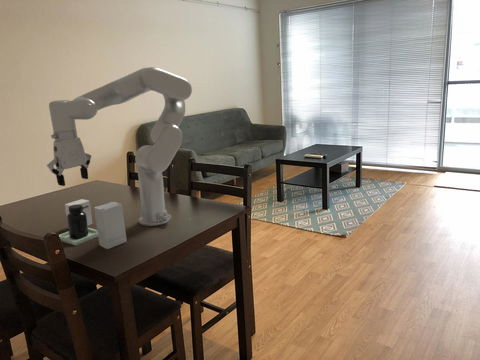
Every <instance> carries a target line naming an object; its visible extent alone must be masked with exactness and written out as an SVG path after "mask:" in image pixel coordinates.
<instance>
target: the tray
mask: <svg viewBox="0 0 480 360" xmlns="http://www.w3.org/2000/svg"><path fill="white" fill-rule="evenodd" d="M58 235H59V237H60V239H61V241H60V242H63V243H65V244H69V245H72V246H75V247H76V246H79V245H81V244H84V243H87V242H89V241H92V240H94V239H97V238H98V232H97V229H95V228H91V227H88V236H87V237H84V238H82V239H71V238H70V237H69V230H68V231H66V232H63V233H61V234H58Z"/></svg>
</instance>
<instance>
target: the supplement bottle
mask: <svg viewBox="0 0 480 360" xmlns="http://www.w3.org/2000/svg"><path fill="white" fill-rule="evenodd" d="M69 212H70V213H69V214H68V215H67V217H66V222H68V224H67V229H68V231H69V237H70V238H71V239H82V238H84V237H87V236H88V228H89V225H87V216H86V213H85V212H83V207H82V205H80V204H76V205H71V206H69Z"/></svg>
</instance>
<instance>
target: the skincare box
mask: <svg viewBox="0 0 480 360" xmlns="http://www.w3.org/2000/svg"><path fill="white" fill-rule="evenodd" d="M123 208H124V207H123V204H122V203H119V202H116V201H110V202H107V203H104V204H102V205H98V206H95V207H93V209H94V216H95V223H96V224H95V225H96V230H97V232H98V237H97V238H98V243H99V244H98V245H99V246H100V247H102V248H104V249H106V250H110V249H112V248H115V247H117V246H119V245H122V244H125V243H127V242H128V241H127V232H126V225H125V224H126V223H125V217H124V215H125V214H124V209H123Z"/></svg>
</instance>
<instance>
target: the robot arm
mask: <svg viewBox="0 0 480 360" xmlns="http://www.w3.org/2000/svg"><path fill="white" fill-rule="evenodd" d="M150 91H153V92H156V93H158V94H161V95H162V96H163V99H164V107H163V110H162V111H161V114H160V115H159V117H158V119H157V120H156V122H155V125H154V126H153V127H152V129H151V131H150V139H151V141H152V142H153V145H141V147H139V148H138V149H137V151H136V153H135V157H134V159H135V165H136V166H135V167H136V171H137V176H138V184H139V194H140V195H139V197H140V206H141V217H139V218H138V223H139V224H140V225H142V226H146V227H154V226H160V225H164V224H166V223H168V222H170V220H171V218H172V215H171V214H168V210H167V209H166V203H165V201H166V200H165V191H164V190H165V189H164V177H163V176H164V175H163V172H164V171H166V170H167V169H168V168H169V166H170V165H171V163H172V160H174V158H175V156H176V154H177V152H178V150H179V149H180V147H181V145H182V142H183V132H182V130H181V128H180V125H181V123H182V121H183V120H184V117H185V114H186V102H185V100H188V99H189V98H190V97H191V95H192V92H193V87H192V85H191V83H190V81H189V80H188V79H186V78H185V77H181V76H179V75H176V74H174V73H171V72H168V71H167V70H163V69H161V68H159V67H155V66H154V67H153V66H151V67H149V66H148V67H142V68H140V69H138V70H136V71H133V72H131V73H128V74H126V75H125V76H123V77H120V78H118V79H116V80H114V81H110V82H109V83H107V84H105V85H103V86H100V87H97V88H95V89H93V90H89V91H88V92H86V93H84V94H81V95H80V96H77V97H75V98H74V99H72V100H69V99H61V100H60V99H58V100H52V101H50V102H49V103H48V109H49V113H50V114H49V115H50V121H51V126H52V131H53V134H51V135H50V137H51V139H54V141H53V159H52V160H51V161H50V162H49V163H47V164H46V167H47V168H48V169H49V170H50V172H51V173H52V174H54V175H55V177H56V182H57V185H59V186H62V187H64V186H66V180H65V175H64V174H63V173H64V171H65V170H68V169H69V170H70V169H72V168H76V167H80V169H79V170H80V176H81V179H84V180H88V179H89V172H88V168H89V165H90V163H91V160H92V159H91V158H92V154H89V153H86V152H85V148H84V145H83V143H82V140H81V137H78V131H77V125H76V120H85V121H86V120H92V119H93V118H94V117H95V116H96V115H97V114H98V111H100V110H102V109H104V108H107V107H111V106H115V105H121V104H124V103H127V102H129V101H131V100H133V99H135V98H137V97H139V96H141V95H144V94H145V93H148V92H150ZM55 167H56V168H55Z"/></svg>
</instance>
